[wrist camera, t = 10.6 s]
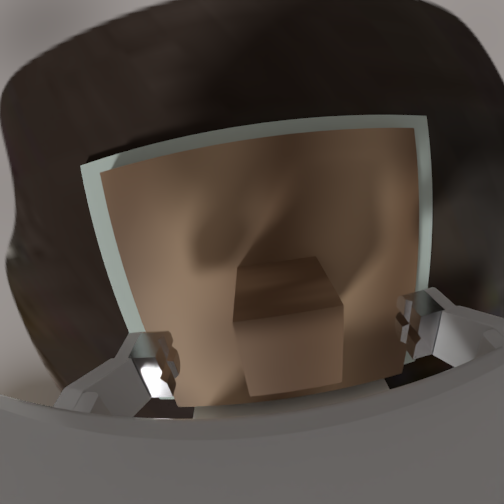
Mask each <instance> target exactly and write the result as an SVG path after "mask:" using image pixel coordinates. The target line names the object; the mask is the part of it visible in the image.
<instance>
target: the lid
mask: <svg viewBox="0 0 504 504" xmlns="http://www.w3.org/2000/svg"><path fill="white" fill-rule="evenodd" d="M100 176H101V181H102V186H103V191H104V195H105V200H106V204H107V208H108V213H109V217H110V221H111V225H112V229H113V232H114V236H115V240H116V243H117V247H118V251H119V254H120V257H121V261H122V264H123V267H124V271H125V274H126V277H127V280H128V283H129V286H130V289H131V292H132V295H133V298H134V301H135V304H136V307H137V310H138V312H139V315H140V318H141V321H142V323H143V326H144V329H145V331H146V332H150V331H169V332H170V333H171V335H172V338H173V343H172V347H174V348H175V349H176V350H177V351H178V354H179V358H180V372H179V375H178V376H177V377H176V378H175V381H176V387H175V391H174V394H173V396H174V399H175V401H176V403H177V405H178V407H194V406H217V405H232V404H244V403H254V402H263V401H272V400H279V399H286V398H293V397H300V396H306V395H312V394H317V393H322V392H328V391H333V390H338V389H342V388H347V387H351V386H356V385H360V384H364V383H368V382H372V381H376V380H380V379H383V378H387V377H390V376H394V375H397V374H401V373H402V370H403V366H404V361H405V356H406V351H407V350H406V349H405V347H406V343H404V342H401V341H400V340H399V338H398V337H397V334H396V330H395V317H396V315H397V314H398V313H399V310H398V308H397V307H396V305H397V299H398V296H402V295H406V294H410V293H413V292H415V287H416V276H417V263H418V244H419V184H418V165H417V152H416V141H415V132H414V128H363V129H343V130H328V131H315V132H304V133H294V134H285V135H277V136H269V137H262V138H255V139H248V140H241V141H235V142H229V143H223V144H218V145H212V146H207V147H202V148H197V149H192V150H187V151H182V152H177V153H173V154H169V155H164V156H160V157H156V158H152V159H148V160H144V161H140V162H136V163H132V164H128V165H125V166H121V167H118V168H114V169H111V170H107V171H104V172H101V173H100Z"/></svg>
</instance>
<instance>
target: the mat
mask: <svg viewBox="0 0 504 504" xmlns="http://www.w3.org/2000/svg"><path fill="white" fill-rule="evenodd" d="M363 128H414V132H415V141H416V152H417V165H418V184H419V244H418V263H417V276H416V287H415V292H417V291H421V290H424V289H427V288H428V280H429V270H430V258H431V243H432V169H431V153H430V142H429V132H428V123H427V116H418V115H348V116H328V117H314V118H302V119H292V120H282V121H274V122H266V123H258V124H251V125H245V126H238V127H232V128H226V129H220V130H215V131H209V132H204V133H199V134H194V135H190V136H185V137H180V138H176V139H172V140H167V141H163V142H159V143H155V144H151V145H147V146H143V147H140V148H136V149H132V150H129V151H125V152H122V153H118V154H115V155H112V156H109V157H105V158H102V159H99V160H96V161H93V162H90V163H87V164H84V165H81V166H80V167H81V173H82V178H83V183H84V187H85V192H86V197H87V201H88V205H89V210H90V214H91V218H92V222H93V225H94V229H95V233H96V237H97V240H98V244H99V247H100V251H101V254H102V257H103V261H104V264H105V267H106V270H107V273H108V276H109V279H110V282H111V285H112V288H113V291H114V294H115V297H116V299H117V302H118V305H119V307H120V310H121V313H122V315H123V318H124V321H125V323H126V326H127V328H128V331H129V333H132V332H146V331H145V329H144V326H143V323H142V321H141V318H140V315H139V312H138V310H137V307H136V304H135V301H134V298H133V295H132V292H131V289H130V286H129V283H128V280H127V277H126V274H125V271H124V267H123V264H122V261H121V257H120V254H119V251H118V247H117V243H116V240H115V236H114V232H113V229H112V225H111V221H110V217H109V213H108V208H107V204H106V200H105V195H104V191H103V186H102V181H101V176H100V173H101V172H104V171H107V170H111V169H114V168H118V167H121V166H125V165H128V164H132V163H136V162H140V161H144V160H148V159H152V158H156V157H160V156H164V155H169V154H173V153H177V152H182V151H187V150H192V149H197V148H202V147H207V146H212V145H218V144H223V143H229V142H235V141H241V140H248V139H255V138H262V137H269V136H277V135H285V134H294V133H304V132H315V131H328V130H343V129H363ZM414 361H415V359H412V358H411V356H410V355H409V353H408V352H407V351H406V356H405V361H404V364H407V363H410V362H414ZM159 398H160V399H174V396H173V397H159Z"/></svg>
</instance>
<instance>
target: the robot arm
mask: <svg viewBox="0 0 504 504" xmlns="http://www.w3.org/2000/svg"><path fill="white" fill-rule="evenodd" d="M396 307H397V308H398V310H399V313H398V314H397V315H396V317H395V330H396V334H397V337H398V338H399V340H400V341H401V342H404V343H406V347H405V349H406V350H407V352H408V353H409V355H410V356H411V358H412V359H417V358H420V357H424V356H427V355H430V354H433V355H434V356H436V357H437V358H439V359H441V360H443V361H445V362H446V363H448V364H450V365H452V366H454V368H452V369H449V370H446V371H444V372H441V373H439V374H436V375H433V376H430V377H427V378H425V379H422V380H419V381H416V382H413V383H410V384H406V385H403V386H400V387H397V388H393V389H390V390H386V391H383V392H379V393H375V394H372V395H368V396H364V397H360V398H356V399H351V400H347V401H342V402H338V403H333V404H328V405H323V406H318V407H312V408H306V409H300V410H294V411H287V412H280V413H272V414H263V415H253V416H242V417H228V418H207V419H157V418H136V417H133V416H134V415H135V414H136V413H137V412H138V411H139V410H140V409H141V408H142V407H143V406H144V405H145V404H146V403H147V402H148V401H149V400H150V399H151V397H173V394H174V391H175V387H176V381H175V378H176V377H177V376H178V375H179V372H180V358H179V354H178V351H177V350H176V349H175V348H174V347H172V343H173V338H172V335H171V333H170V332H169V331H150V332H132V333H129V334H128V336H127V338H126V339H125V341H124V343H123V345H122V346H121V348H120V350H119V352H118V353H117V355H116V357H115V358H111V359H109V360H108V361H106V362H105V363H103V364H102V365H100V366H99V367H97V368H95V369H94V370H92V371H91V372H89V373H88V374H86V375H84V376H83V377H81V378H80V379H78V380H77V381H75V382H73V383H72V384H70V385H69V386H67V387H65V388H64V390H63V391H62V393H61V394H60V396H59V398H58V399H57V401H56V403H55V404H54V406H53V407H50V406H45V405H40V404H36V403H32V402H27V401H23V400H19V399H16V398H12V397H8V396H4V395H1V394H0V504H504V318H501V317H498V316H494V315H491V314H487V313H484V312H480V311H477V310H473V309H470V308H466V307H463V306H455V305H454V304H453V303H452V302H451V301H450V300H449V299H448V298H447V297H445V296H444V295H443V294H442V293H441V292H440V291H439V290H437V289H436V288H434V287H431V288H427V289H424V290H421V291H417V292H413V293H410V294H406V295H402V296H398V299H397V305H396Z"/></svg>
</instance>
